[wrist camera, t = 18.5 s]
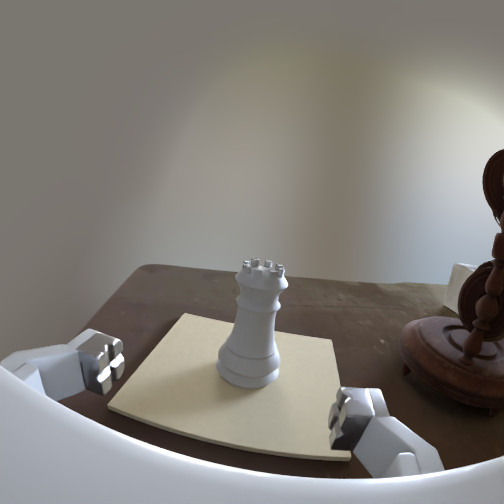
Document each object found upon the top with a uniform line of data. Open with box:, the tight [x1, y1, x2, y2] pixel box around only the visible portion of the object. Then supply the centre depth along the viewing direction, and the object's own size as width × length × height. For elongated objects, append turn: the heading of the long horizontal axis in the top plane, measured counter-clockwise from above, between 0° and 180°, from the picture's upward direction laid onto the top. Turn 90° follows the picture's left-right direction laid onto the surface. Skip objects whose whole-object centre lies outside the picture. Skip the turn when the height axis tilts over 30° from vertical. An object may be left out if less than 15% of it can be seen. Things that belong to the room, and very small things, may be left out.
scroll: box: [398, 149, 504, 417], centre depth 18 cm, size 15×15×20 cm
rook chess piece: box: [216, 259, 288, 389], centre depth 19 cm, size 4×4×8 cm
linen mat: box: [108, 313, 351, 461], centre depth 20 cm, size 14×14×1 cm
